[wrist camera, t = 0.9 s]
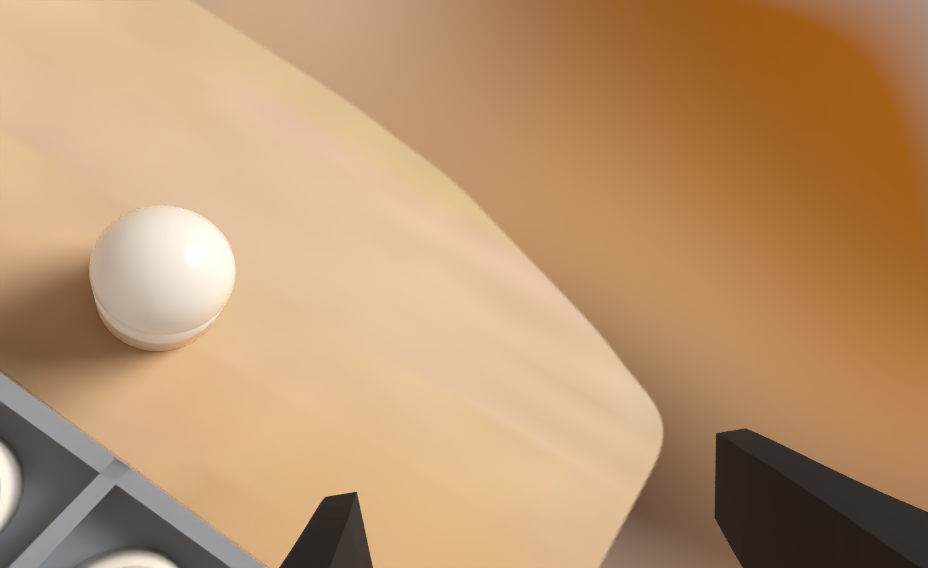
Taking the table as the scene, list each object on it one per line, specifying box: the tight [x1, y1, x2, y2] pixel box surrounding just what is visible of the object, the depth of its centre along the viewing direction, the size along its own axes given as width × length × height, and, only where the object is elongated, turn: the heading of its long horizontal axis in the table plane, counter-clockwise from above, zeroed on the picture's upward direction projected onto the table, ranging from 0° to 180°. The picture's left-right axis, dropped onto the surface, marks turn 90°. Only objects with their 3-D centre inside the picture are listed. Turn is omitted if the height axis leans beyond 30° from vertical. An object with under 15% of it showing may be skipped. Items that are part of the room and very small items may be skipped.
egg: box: [89, 205, 236, 351], centre depth 20 cm, size 4×4×6 cm
